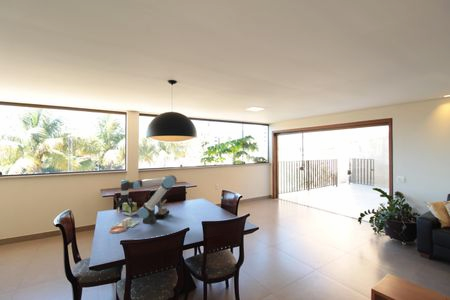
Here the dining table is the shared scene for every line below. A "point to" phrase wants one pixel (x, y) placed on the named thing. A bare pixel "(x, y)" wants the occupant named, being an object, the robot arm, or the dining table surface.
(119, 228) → the bowl
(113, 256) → the dining table surface
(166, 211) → the coral
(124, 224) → the pale grey block
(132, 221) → the parts tray
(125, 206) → the tea box
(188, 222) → the dining table surface
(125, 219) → the cream rectangular block
